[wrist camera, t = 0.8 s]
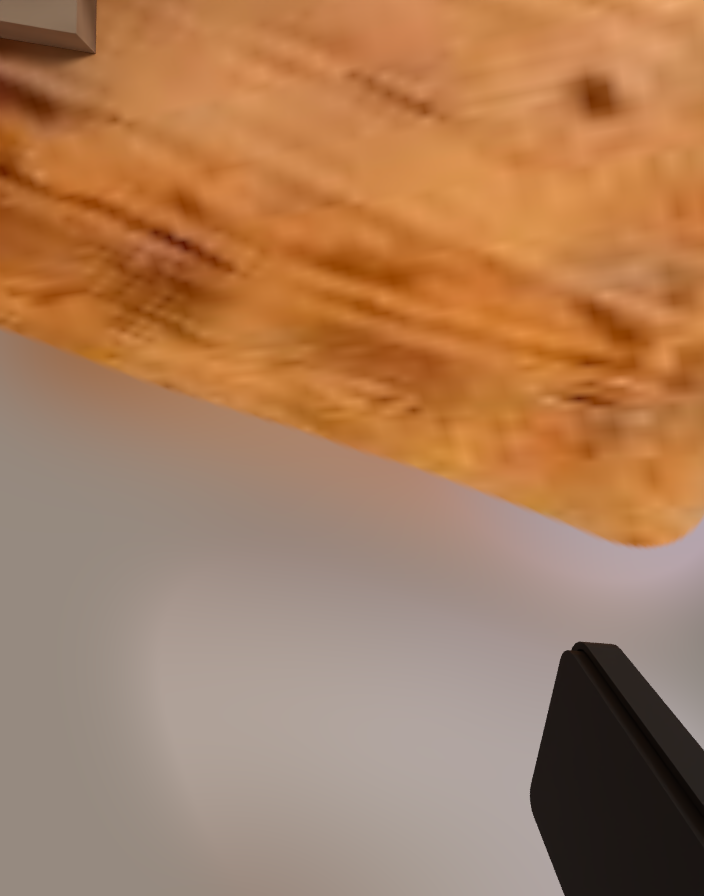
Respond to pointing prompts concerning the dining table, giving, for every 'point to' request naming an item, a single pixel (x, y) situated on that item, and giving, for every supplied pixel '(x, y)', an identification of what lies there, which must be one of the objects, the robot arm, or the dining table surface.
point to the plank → (50, 23)
